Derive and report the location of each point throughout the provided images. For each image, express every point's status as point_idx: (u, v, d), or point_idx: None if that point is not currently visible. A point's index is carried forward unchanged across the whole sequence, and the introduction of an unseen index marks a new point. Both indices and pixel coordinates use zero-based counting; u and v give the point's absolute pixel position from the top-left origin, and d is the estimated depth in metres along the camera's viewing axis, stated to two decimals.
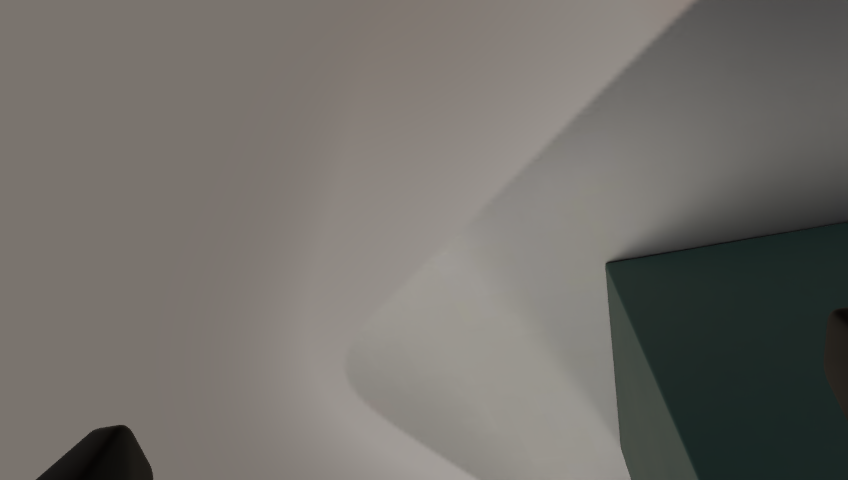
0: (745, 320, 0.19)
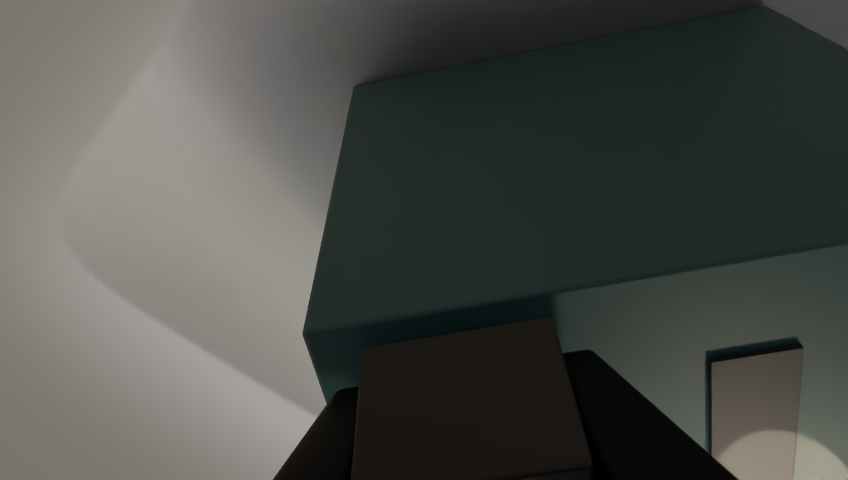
0: (476, 119, 0.15)
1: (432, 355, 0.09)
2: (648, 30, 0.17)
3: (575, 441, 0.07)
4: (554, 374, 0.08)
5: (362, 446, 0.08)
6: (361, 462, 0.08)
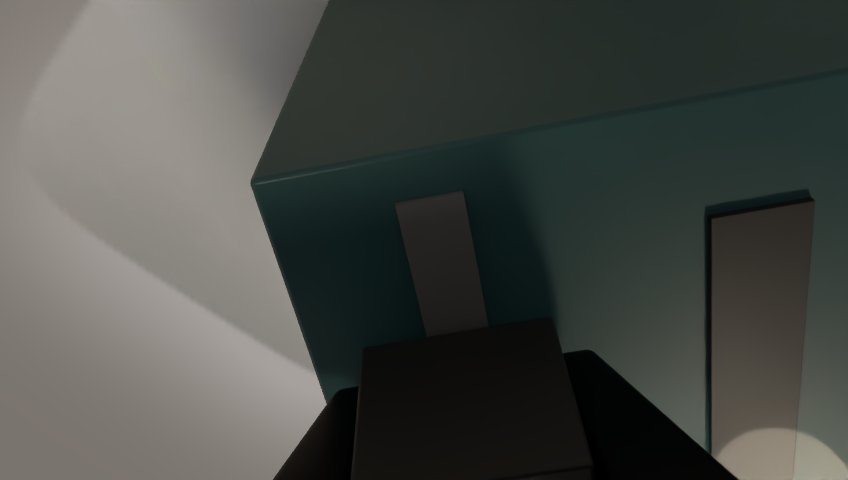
0: (457, 8, 0.14)
1: (432, 355, 0.09)
2: None
3: (575, 440, 0.07)
4: (555, 374, 0.08)
5: (362, 445, 0.08)
6: (361, 461, 0.08)
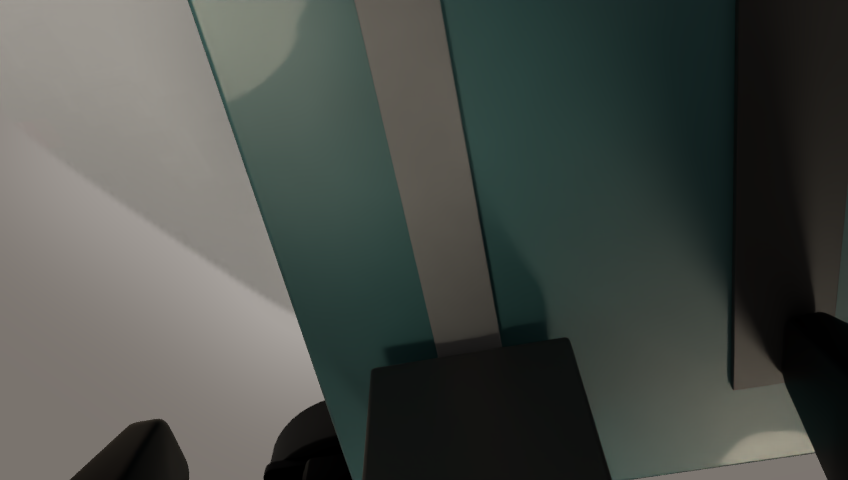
0: None
1: (444, 376, 0.08)
2: None
3: (597, 471, 0.07)
4: (572, 399, 0.08)
5: (372, 474, 0.07)
6: None
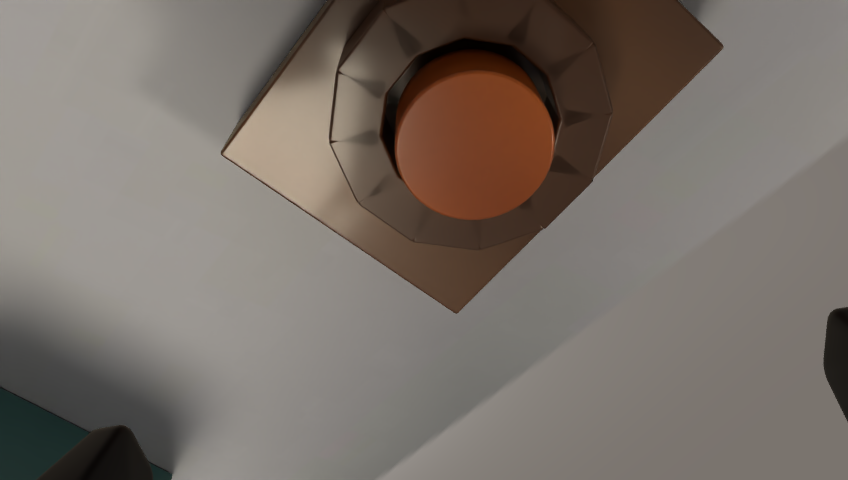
0: None
1: None
2: None
3: None
4: None
5: None
6: None
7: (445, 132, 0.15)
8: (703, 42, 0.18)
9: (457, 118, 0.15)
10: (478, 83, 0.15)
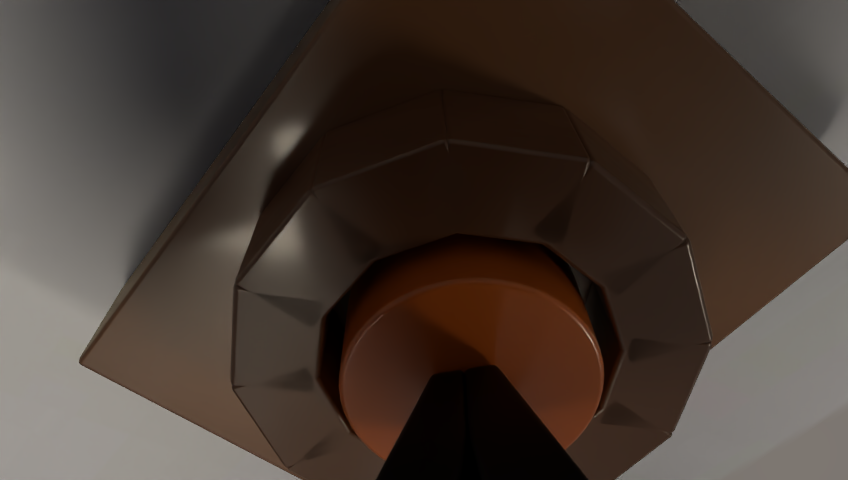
0: None
1: None
2: None
3: None
4: None
5: None
6: None
7: (422, 367, 0.09)
8: None
9: (441, 349, 0.09)
10: (476, 300, 0.09)
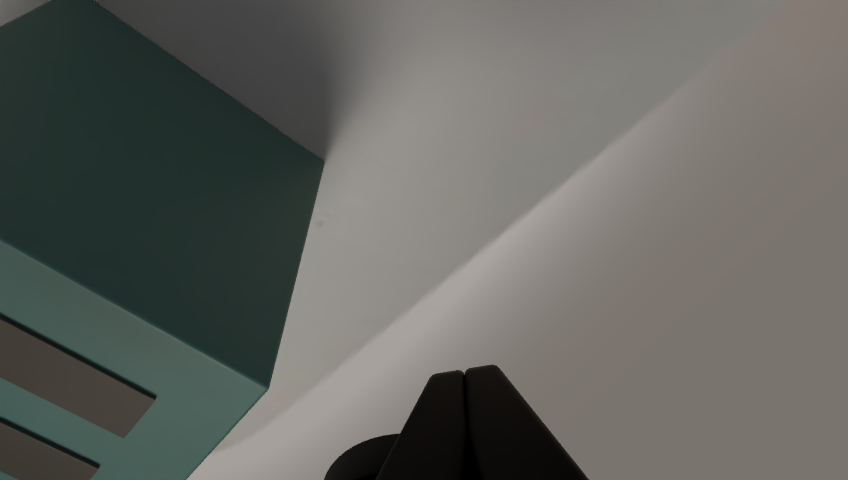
0: None
1: None
2: None
3: None
4: None
5: None
6: None
7: None
8: None
9: None
10: None
